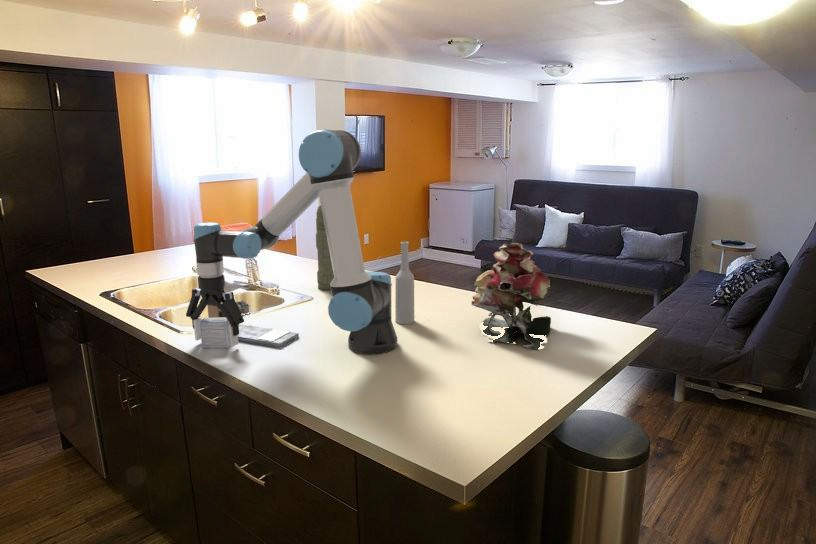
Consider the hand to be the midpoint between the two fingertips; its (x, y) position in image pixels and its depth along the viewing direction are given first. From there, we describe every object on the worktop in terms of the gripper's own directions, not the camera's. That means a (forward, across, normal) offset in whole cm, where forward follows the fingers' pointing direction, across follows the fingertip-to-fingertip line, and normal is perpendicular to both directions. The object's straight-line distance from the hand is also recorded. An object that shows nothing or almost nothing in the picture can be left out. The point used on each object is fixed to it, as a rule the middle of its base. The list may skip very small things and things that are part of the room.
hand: (216, 342), depth 172 cm
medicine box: (+2, 0, 0) cm, 2 cm away
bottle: (+1, -44, -44) cm, 62 cm away
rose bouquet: (+2, -80, -47) cm, 93 cm away
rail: (+1, -4, -11) cm, 12 cm away
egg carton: (+2, +18, -29) cm, 34 cm away
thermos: (+2, +4, -73) cm, 73 cm away
